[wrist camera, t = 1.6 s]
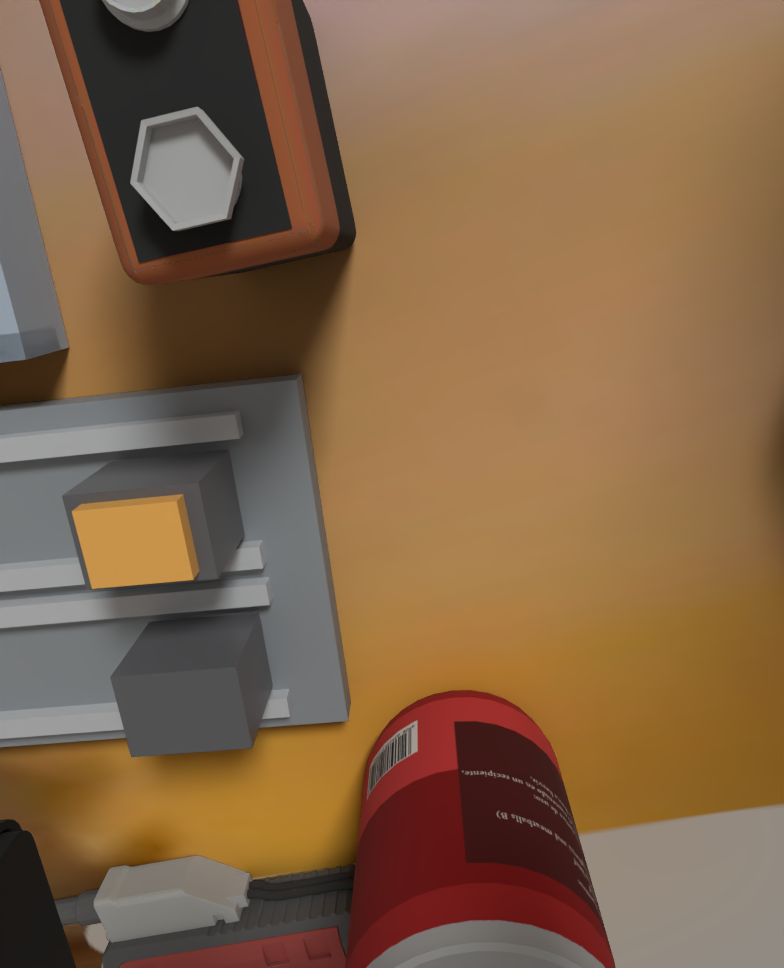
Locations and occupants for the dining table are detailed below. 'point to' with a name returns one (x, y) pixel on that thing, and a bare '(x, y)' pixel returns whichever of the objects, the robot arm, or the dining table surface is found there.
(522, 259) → the dining table surface
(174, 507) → the block
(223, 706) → the toggle plain
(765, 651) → the dining table surface
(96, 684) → the breaker panel
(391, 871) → the canned food
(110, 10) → the battery
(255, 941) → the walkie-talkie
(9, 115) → the blue-grey tray
